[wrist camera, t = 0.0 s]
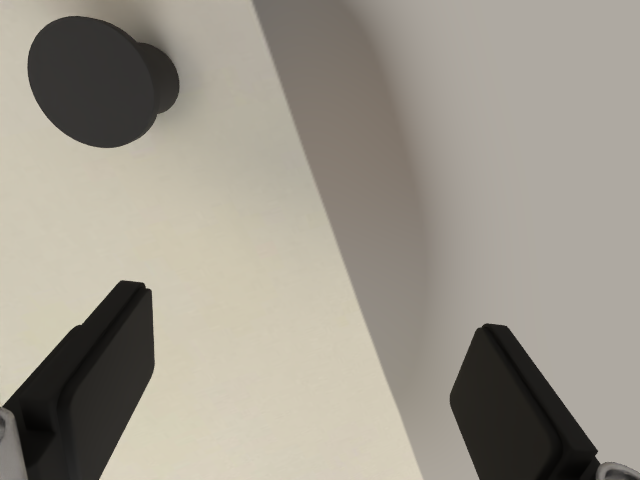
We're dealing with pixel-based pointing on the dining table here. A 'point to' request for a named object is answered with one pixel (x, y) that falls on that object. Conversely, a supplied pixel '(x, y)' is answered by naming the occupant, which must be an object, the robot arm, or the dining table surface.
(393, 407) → the dining table surface
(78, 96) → the stopper
